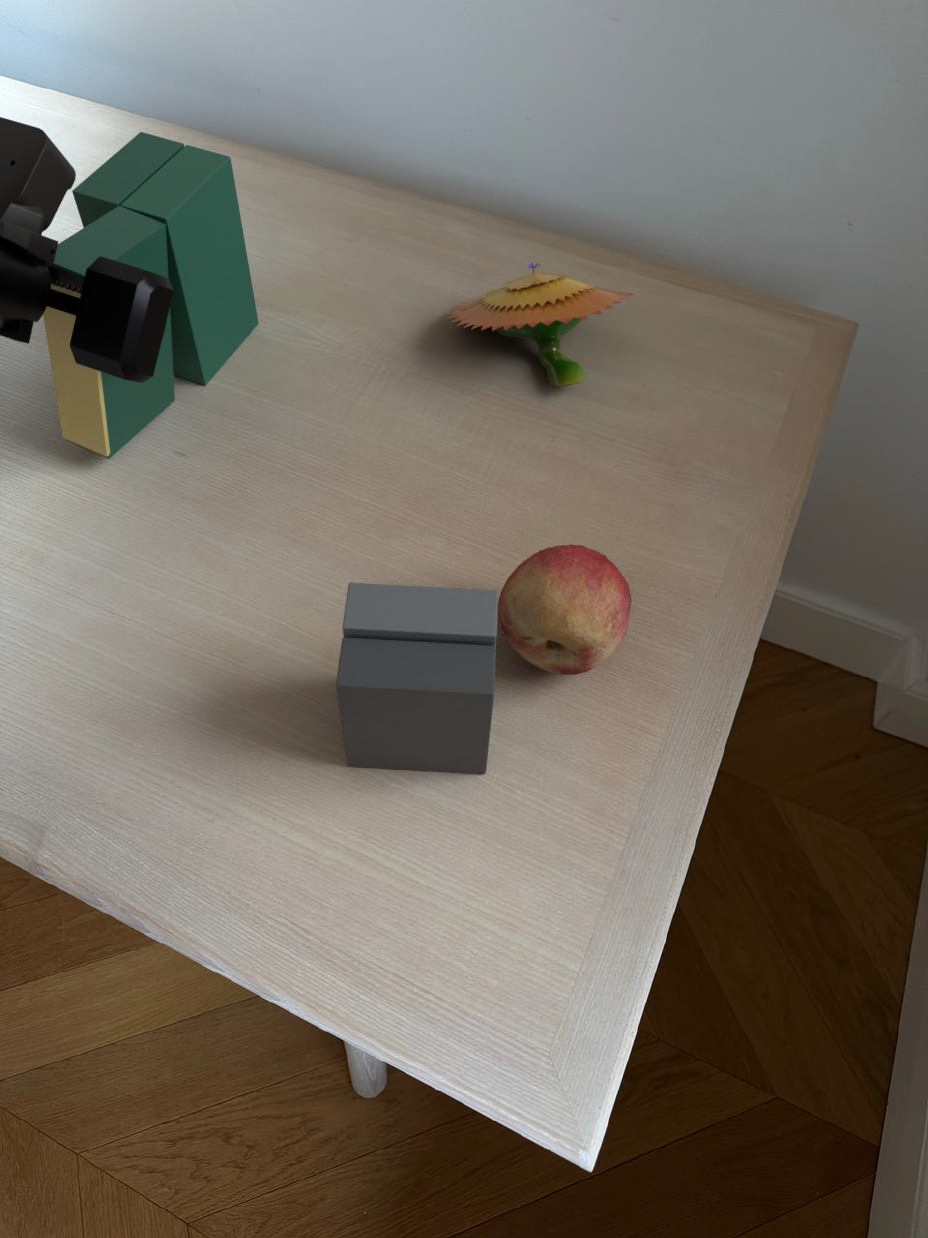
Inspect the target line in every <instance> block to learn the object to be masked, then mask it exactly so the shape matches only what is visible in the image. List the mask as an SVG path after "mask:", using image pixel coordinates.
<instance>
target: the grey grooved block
mask: <svg viewBox="0 0 928 1238" xmlns="http://www.w3.org/2000/svg"><path fill="white" fill-rule="evenodd" d="M498 602H499V591H498V590H494V589H474V588H459V587H458V588H457V587H442V586H441V587H438V586H437V587H436V586H421V585H401V584H384V583H364V582H348V585H347V592H346V599H345V606H344V613H343V621H342V634H343V635H342V636H343V638H342V639H341V644H340V652H339V660H338V666H337V674H336V680H335V681H336V682H335V689H336V697H337V703H338V709H339V711H338V712H339V717H340V724H341V731H342V738H343V744H344V750H345V751H344V752H345V758H346V765H347V767H352V768H368V769H369V768H370V769H386V770H388V769H389V770H403V771H404V770H405V771H421V772H422V771H423V772H439V773H440V772H442V773H456V774H457V773H459V774H477V775H478V774H479V775H486V774H487V768H488V758H489V757H488V756H489V747H490V738H491V729H492V719H493V712H494V711H493V709H494V700H495V684H496V683H495V681H496V655H497V654H496V653H497V652H496V651H497V648H496V647H497V631H498Z"/></svg>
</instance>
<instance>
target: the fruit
mask: <svg viewBox="0 0 928 1238" xmlns="http://www.w3.org/2000/svg"><path fill="white" fill-rule="evenodd" d="M631 608H632V593H631V589H630V585H629V583H628V581H627V580H626V578H625V577H624V575H623V574H622V573H621V572H620V570H619V568H618V567H617V566H616V565H615V564H614V563H613V561H611V560H610V559H609V558H608V557H607V555H605V554H603V553H601V552H600V551H597V550H595V549H592V548H590V547H587V546H585V545H581V544H580V545H579V544H573V543H572V544H561V545H560V544H558V545H555V546H549V547H545V548H543V549H540V550H538V551H537V552H535V553H533V554H531V555H530V556H529V557H527V558H526V559H524V560H523V561H522V562H521V563H520V564H519V565H518V566H517V567H516V568H515V569H514V570H513V571H512V573H510V574H509V576H508V578H507V579H506V581H505V582H504V584H503V587H502V588H501V591H500V594H499V596H498V608H497V619H498V622H499V625H500V629H501V631H502V634H503V636H504V638H505V640H506V641H507V642H508V644H509V645H510V646H511V647H512V649H514V650H515V652H517V653H518V654H519V655H520V656H521V657H522V658H523V659H524V660H525V661H526V662H527V663H529V664H530V665H533V666H535V667H536V668H539V669H541V670H545V671H547V672H549V673H551V674H555V675H563V676H575V675H581V674H584V673H587V672H590V671H591V670H594V669H595V668H597V667H599V666H600V665H602V664H604V663H605V662H606V661H608V660H609V659H610V658H612V656H613V655H614V654H615V653H616V651H617V650H618V649H619V647H620V646H621V644H622V642H623V641H624V639H625V638H626V635H627V632H628V628H629V621H630V614H631V610H632V609H631Z"/></svg>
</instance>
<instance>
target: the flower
mask: <svg viewBox="0 0 928 1238" xmlns="http://www.w3.org/2000/svg"><path fill="white" fill-rule="evenodd" d="M538 266H542V264H541V263H538V262H537V263H536V264H535V265H534V262H531V263H527V268H528V269H531V270H532V274H529V275H526V276H521V277H519V278H514V279H513V280H509V281H508V282H505V283H503V284H502V286H501V287H497V288H494V289H491V290H489V291H487V292H485V293H484V294H482V295H481V296H480V295H479V296H478V297H476V298H472V299H468V300H466V301H465V302H460V303H459V304H458V305H455V306H453V308H451V309H450V312H448V313H446V315H450V314H451V315H450V316H448V317H447V319H451V318H452V319H453V318H454V319H453V320H452V321H451V323H455V322H459V323H457V324H456V327H459V326H461V325H464V327H463V329H465V328H467V327H471V326H472V328H471V330H473V329H476V328H479V327H481V329H480V331H484V330H486V329H489V328H491V330H492V332H493V331H496V332H497V333H498V334H500V335H502V336H503V337H507V338H515V339H516V338H517V339H525V340H530V341H531V340H532V341H533V342H535V343H536V345H537V348H538V355H539V361H540V362H539V363H540V364H541V366H542V367H543V368H544V370H546V373H547V376H546V377H547V381H548V383H549V384H550V385H552V386H556V387H560V388H561V387H568V386H573V385H576V384H579V383H581V382H582V381H584V380H585V378H586V374H585V371H584V368H583V366H582V364H581V363H580V361H577V360H574V359H571V358H568V357H567V356H566V355H565V354H564V353H563V352H562V351H563V350H562V349H561V343H562V340H563V337H565V336H567V335H568V334H570V332H572V331H573V330H574V329H575V328H576V327H577V326H578V325H579V324H580V323H581V322H582V321H584V320H585V321H586V320H587V318H588V316H589V315H602V312H601V310H609V309H610V310H613V309H614V308H613V307H612V306H611V305H616V304H622V302H621V301H619V300H629V299H630V298H628V297H631V296H634V293H633V292H628V291H623V290H616V289H611V288H610V289H609V288H604V287H600V286H597V284H593V283H590V282H588V281H587V282H586V281H581V280H577V279H575V278H571V277H568V274H566V273H559V272H558V273H553V272H548V273H544V272H543V273H535V269H536V268H538ZM465 324H466V325H465Z"/></svg>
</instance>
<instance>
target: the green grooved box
mask: <svg viewBox="0 0 928 1238" xmlns="http://www.w3.org/2000/svg"><path fill="white" fill-rule="evenodd" d="M234 175H235V174H234V170H233V162H232V158H231V156H229V155H225V154H223V153H222V154H221V153H219V152H216V151H215V152H214V151H211V150H207V149H204V148H200V147H197V146H193V145H189V144H184V143H182V142H180V141H176V140H172V139H169V138H168V139H167V138H166V137H165V138H164V137H161V136H158V135H155V134H151V133H146V132H144V131H140V132H139V133H137V135H135V136H134V137H133V138H132V139H130V140H129V141H128V142H127V143H126V144H124V145H123V146H122V147H121V148H120V149H119V150H118V151H116V152H115V153H113V155H112V156H111V157H110V158H108V159H107V160H105V162H104V163H102V164H101V165H100V166H99V167H98V168H97V169H95V170H94V171H93V172H92V173H91V174H90V175H88V177H86V178H85V179H83V181H81V182H80V183H79V184H78V185H77V186H76V187H74V189H72V190H71V192H72V195H73V198H74V202H75V205H76V209H77V212H78V215H79V218H80V220H81V224H82V228H85V227H86V226H88V225H89V224H91V223H93V222H94V221H96V220H97V219H99V218H100V217H102V216H104V215H105V214H107V213H108V212H110V211H112V210H113V209H115V208H116V207H118V206H121V207H124V208H126V209H129V210H131V211H134V212H136V213H139V214H141V215H144V216H146V217H149V218H151V219H154V220H156V221H159V222H162V223H164V224H166V238H167V258H168V277H169V281H170V283H171V285H172V287H173V289H174V293H173V297H172V301H171V305H170V315H171V335H172V354H173V373H174V376H175V377H179V378H182V379H185V380H187V381H191V382H194V383H197V384H200V385H203V386H207V385H208V383H209V382H210V381H211V380H212V379H213V377H214V376H215V375H216V374H217V373H218V372H219V371H220V369H221V368H222V367H223V366H224V365H225V364H226V362H227V361H228V360H229V359H230V358H231V356H232V355H233V354H234V353H235V352H236V351H237V350H238V348H239V347H240V346H241V345H242V344H243V342H244V341H245V340H246V339H247V338H248V336H250V334H251V333H252V332H253V331H254V330H255V328H257V326H258V325H259V318H258V311H257V305H256V299H255V293H254V289H253V282H252V276H251V275H252V274H251V270H250V269H251V268H250V265H249V259H248V252H247V247H246V240H245V235H244V229H243V224H242V217H241V211H240V205H239V199H238V194H237V186H236V181H235V176H234Z"/></svg>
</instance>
